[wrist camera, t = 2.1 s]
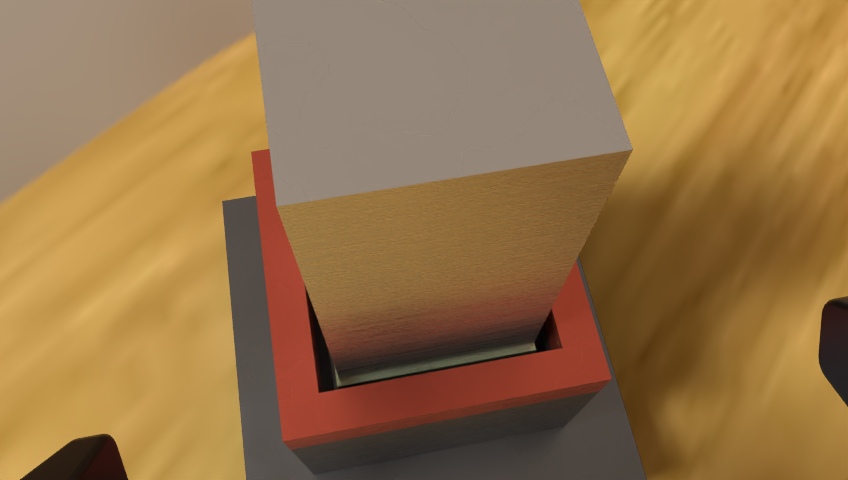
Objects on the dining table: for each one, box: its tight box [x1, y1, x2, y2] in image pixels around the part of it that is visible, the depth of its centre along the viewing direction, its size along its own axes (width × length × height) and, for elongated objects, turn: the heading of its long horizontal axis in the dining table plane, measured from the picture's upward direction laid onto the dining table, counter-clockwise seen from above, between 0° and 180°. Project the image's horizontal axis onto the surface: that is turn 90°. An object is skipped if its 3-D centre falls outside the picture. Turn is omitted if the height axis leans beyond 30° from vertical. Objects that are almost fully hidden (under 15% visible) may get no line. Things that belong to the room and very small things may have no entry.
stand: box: [222, 149, 647, 480], centre depth 19 cm, size 10×10×6 cm
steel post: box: [252, 0, 633, 389], centre depth 15 cm, size 4×4×12 cm
